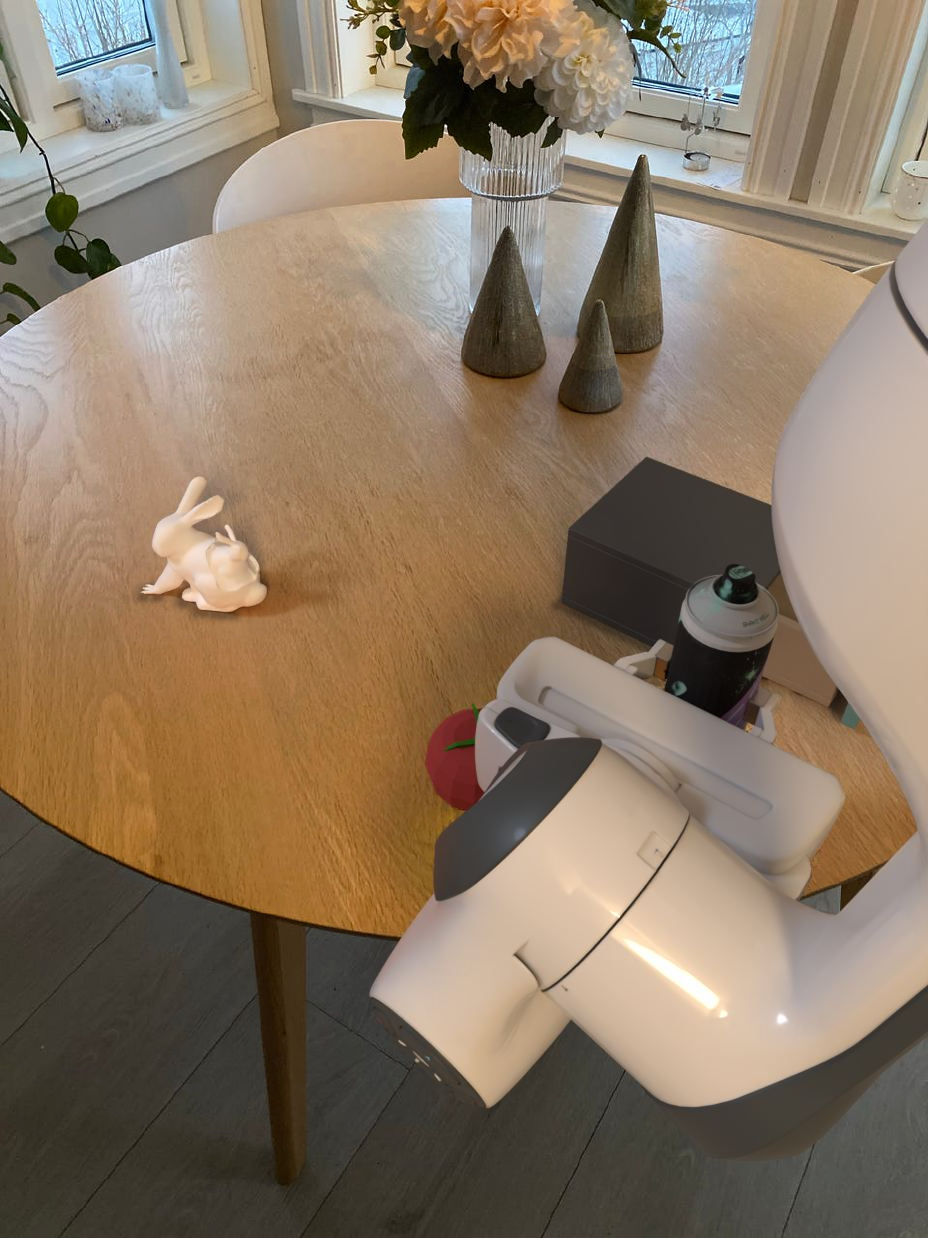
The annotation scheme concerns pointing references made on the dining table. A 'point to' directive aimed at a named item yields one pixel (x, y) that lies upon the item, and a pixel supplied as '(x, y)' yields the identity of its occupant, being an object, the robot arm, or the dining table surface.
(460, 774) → the tomato
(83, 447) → the dining table surface
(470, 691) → the dining table surface
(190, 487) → the rabbit figurine
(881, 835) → the dining table surface
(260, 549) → the dining table surface
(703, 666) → the spray can
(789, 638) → the drawer
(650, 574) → the cabinet
